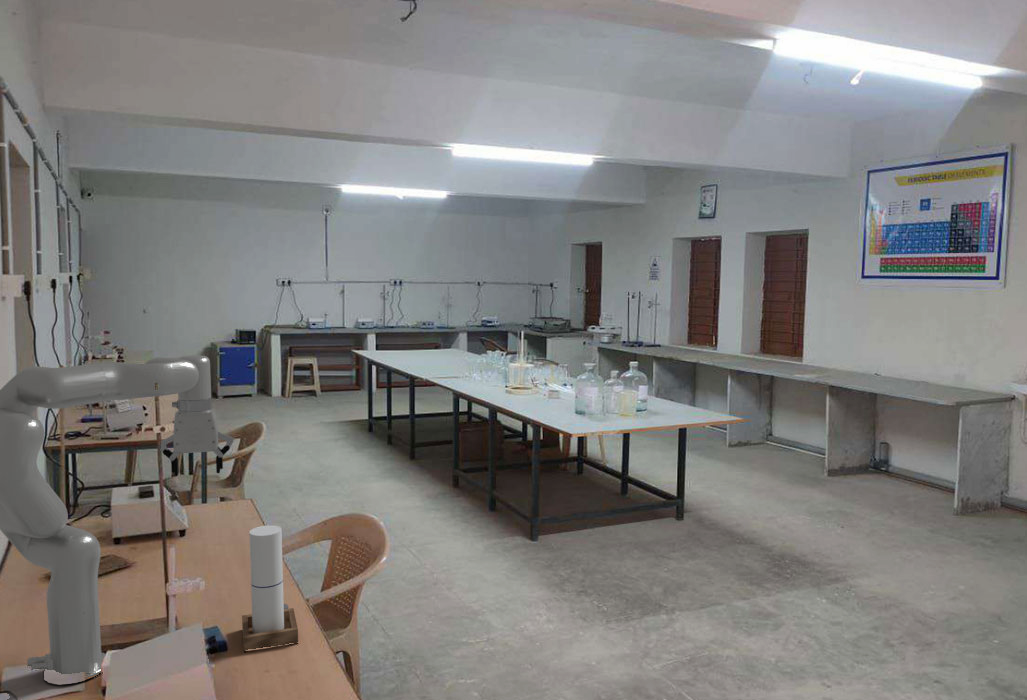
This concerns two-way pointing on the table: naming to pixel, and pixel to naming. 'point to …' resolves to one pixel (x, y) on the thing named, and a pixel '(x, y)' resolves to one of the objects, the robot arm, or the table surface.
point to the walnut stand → (270, 632)
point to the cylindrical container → (266, 579)
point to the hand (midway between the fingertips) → (197, 473)
